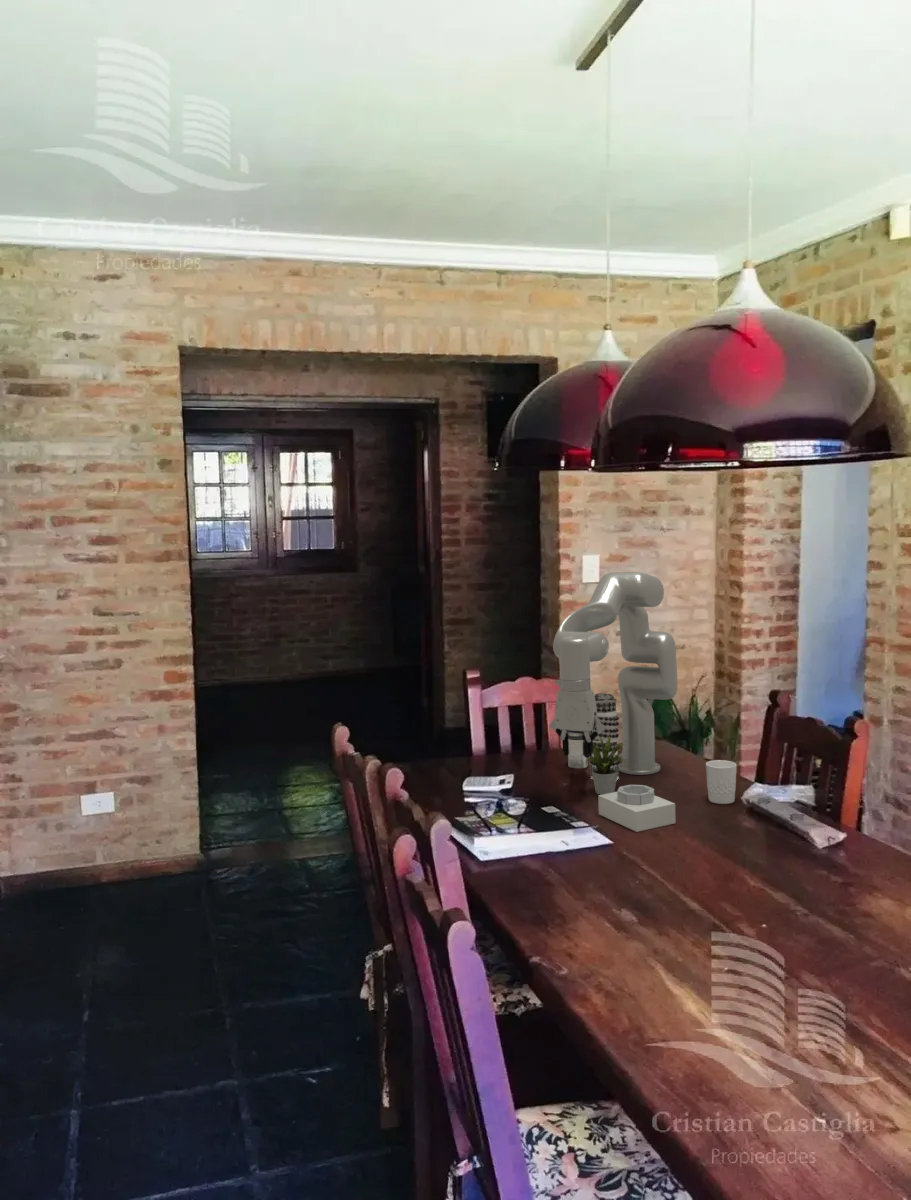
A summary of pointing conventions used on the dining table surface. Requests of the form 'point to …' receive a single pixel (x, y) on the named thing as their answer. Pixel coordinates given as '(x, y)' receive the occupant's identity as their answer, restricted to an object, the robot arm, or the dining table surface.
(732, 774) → the white cup
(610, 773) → the house plant
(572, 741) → the lens
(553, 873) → the dining table surface
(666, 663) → the robot arm
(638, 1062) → the dining table surface
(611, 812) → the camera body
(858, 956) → the dining table surface
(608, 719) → the decorative candle
